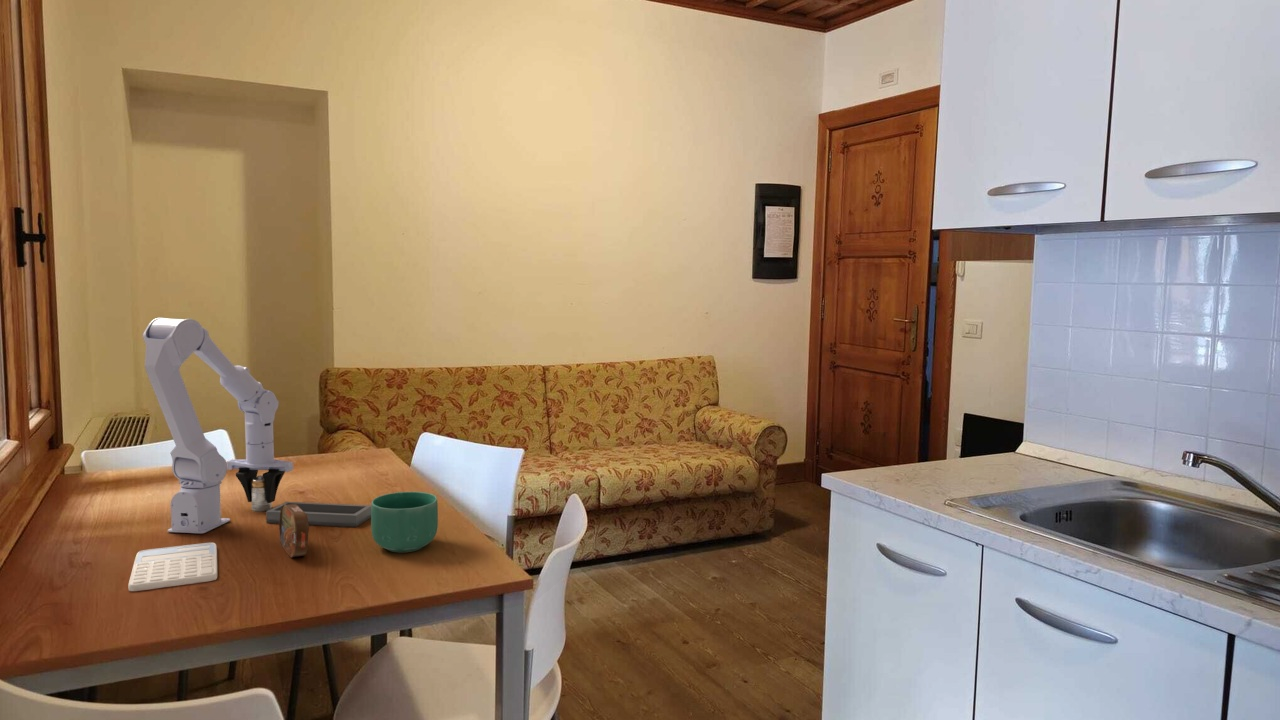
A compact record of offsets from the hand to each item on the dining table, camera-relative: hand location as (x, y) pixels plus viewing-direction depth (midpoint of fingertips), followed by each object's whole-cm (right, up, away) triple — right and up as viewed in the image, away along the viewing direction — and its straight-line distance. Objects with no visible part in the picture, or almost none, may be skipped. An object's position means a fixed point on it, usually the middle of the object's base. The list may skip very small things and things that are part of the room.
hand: (261, 501), depth 188 cm
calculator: (+2, -6, -38) cm, 39 cm away
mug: (+39, -5, -23) cm, 45 cm away
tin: (+19, -5, -28) cm, 34 cm away
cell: (0, -2, 0) cm, 2 cm away
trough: (+16, -3, -8) cm, 18 cm away
